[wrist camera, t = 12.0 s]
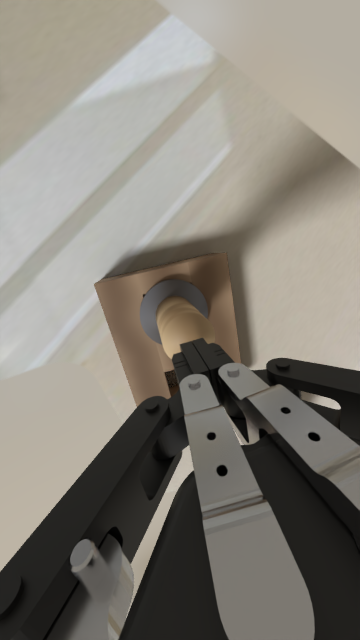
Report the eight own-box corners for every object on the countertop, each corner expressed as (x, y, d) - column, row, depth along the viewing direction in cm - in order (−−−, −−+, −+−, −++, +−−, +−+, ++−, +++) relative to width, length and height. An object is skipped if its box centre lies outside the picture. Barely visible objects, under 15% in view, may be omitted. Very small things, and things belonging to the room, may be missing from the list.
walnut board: (213, 253, 24) (226, 252, 21) (232, 380, 30) (245, 398, 27) (101, 279, 23) (93, 284, 19) (144, 407, 29) (145, 430, 25)
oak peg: (190, 269, 24) (228, 280, 14) (200, 323, 27) (239, 367, 16) (132, 283, 24) (127, 306, 13) (148, 337, 26) (154, 392, 15)
